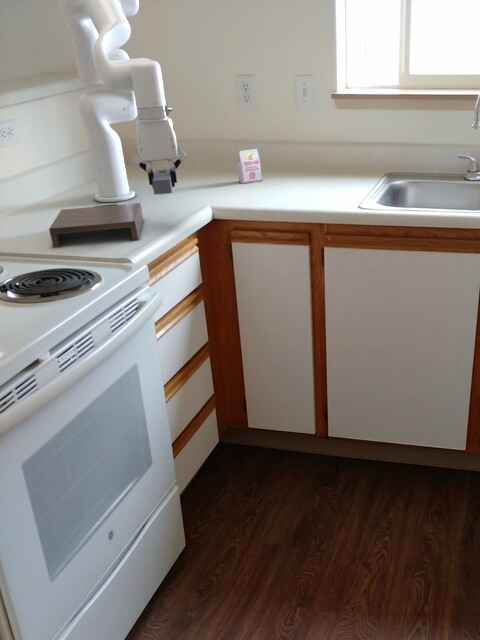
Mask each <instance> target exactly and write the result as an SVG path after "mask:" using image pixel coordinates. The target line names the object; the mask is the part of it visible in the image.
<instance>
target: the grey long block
mask: <svg viewBox="0 0 480 640" xmlns="http://www.w3.org/2000/svg"><path fill="white" fill-rule="evenodd" d="M152 183H153V187H152V189H153V194H154V195H163V194H172V193H173V188H174V187H173V186H172V182H171V176H170V168H167V169H155V170H154V177H153V180H152Z"/></svg>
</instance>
